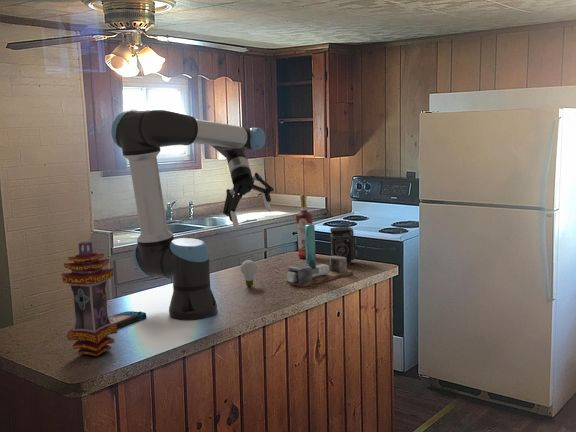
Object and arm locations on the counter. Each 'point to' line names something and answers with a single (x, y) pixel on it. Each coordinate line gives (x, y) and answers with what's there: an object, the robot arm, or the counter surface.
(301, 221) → the liquor
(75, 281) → the lantern
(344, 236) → the camera
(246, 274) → the light bulb
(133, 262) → the robot arm
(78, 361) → the counter surface
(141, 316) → the gaming console
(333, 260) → the bench
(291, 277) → the tube
